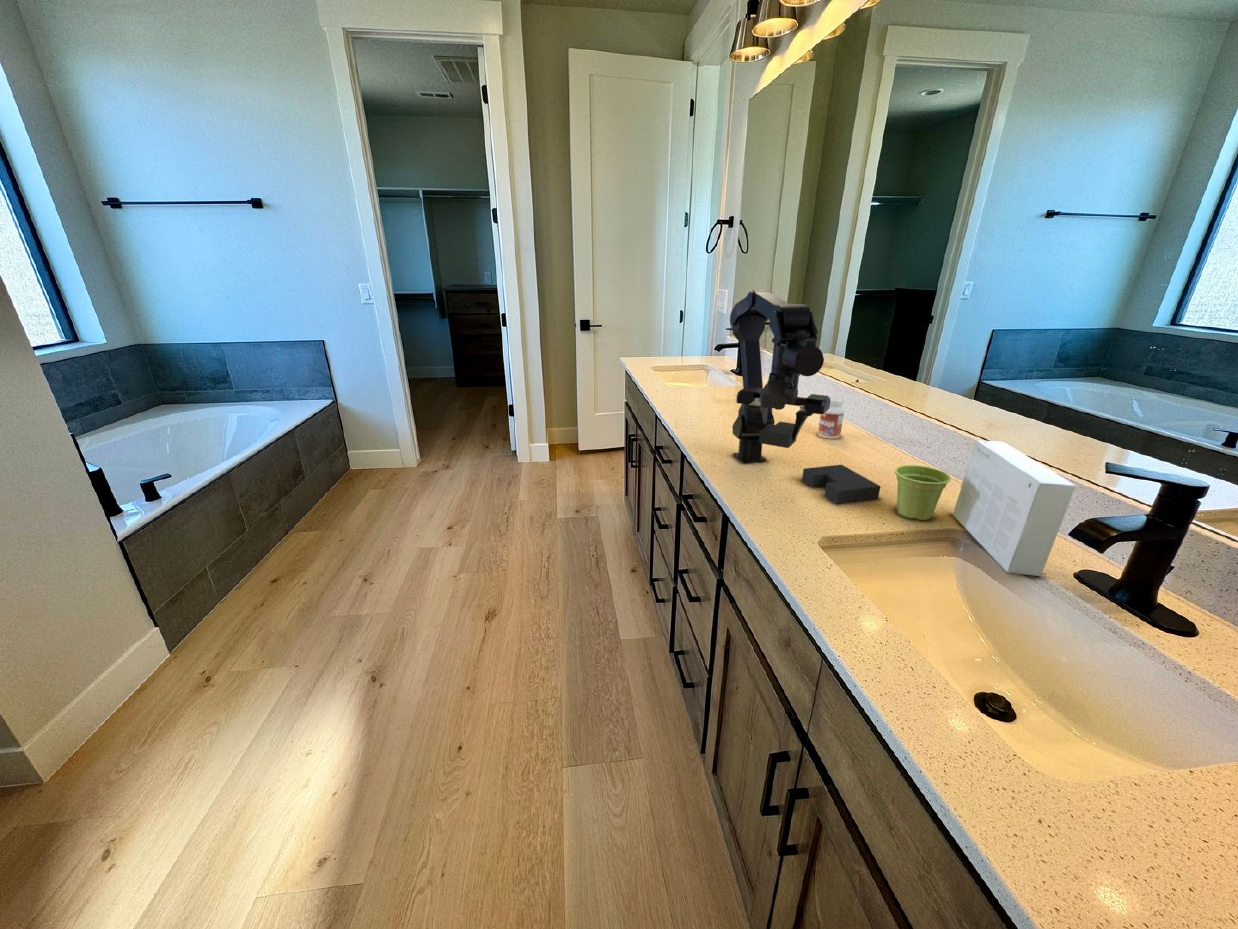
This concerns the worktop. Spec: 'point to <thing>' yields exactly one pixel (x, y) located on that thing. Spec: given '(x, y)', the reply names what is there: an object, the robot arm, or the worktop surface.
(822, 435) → the pill bottle
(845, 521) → the worktop surface
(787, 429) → the black pad
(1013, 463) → the skincare box
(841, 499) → the charcoal pad
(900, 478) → the plant pot
